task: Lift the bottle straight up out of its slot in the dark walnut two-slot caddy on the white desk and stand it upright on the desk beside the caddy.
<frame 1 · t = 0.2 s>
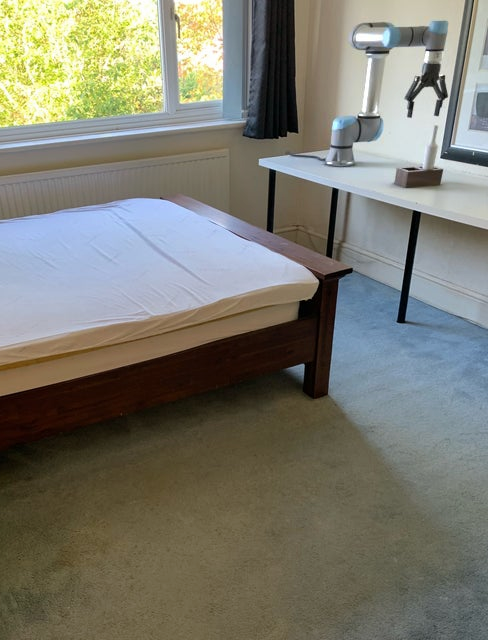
hand: (422, 116, 266), 28 cm above the table, tool pointing down, fingers open, 13 cm apart
bottle: (424, 183, 278), resting in caddy
caddy: (417, 184, 277), on the table
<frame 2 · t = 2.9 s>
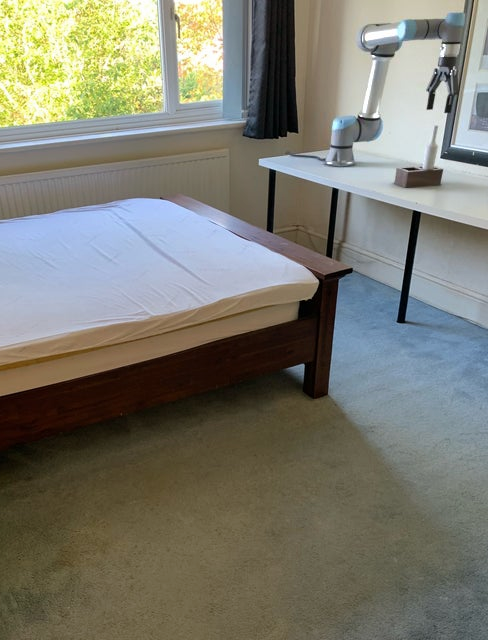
hand: (438, 111, 261), 31 cm above the table, tool pointing down, fingers open, 13 cm apart
nothing on the table moved.
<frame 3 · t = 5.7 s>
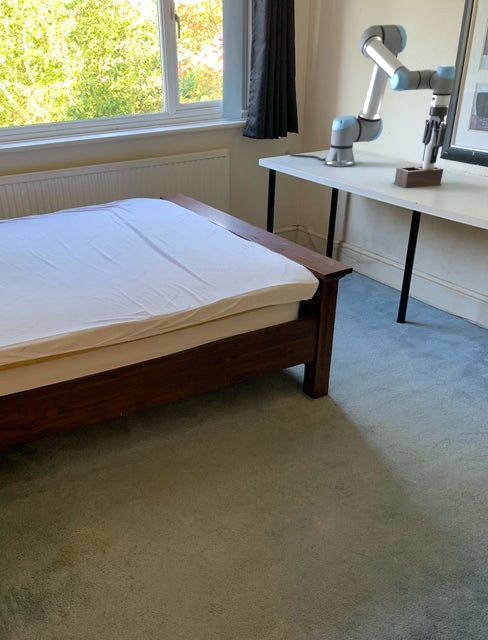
hand: (429, 161, 272), 10 cm above the table, tool pointing down, fingers closed on bottle, 5 cm apart
bottle: (424, 183, 278), resting in caddy, touching gripper
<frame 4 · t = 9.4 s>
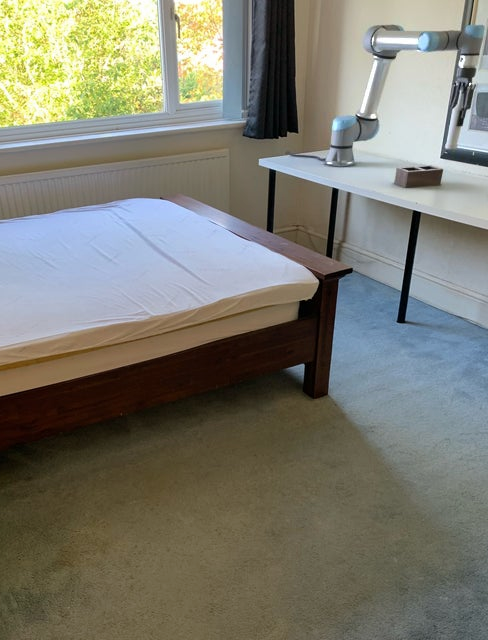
hand: (455, 125, 268), 24 cm above the table, tool pointing down, fingers closed on bottle, 5 cm apart
bottle: (450, 148, 273), point 14 cm above the table, touching gripper
when the fingers open (10 cm above the table, at t = 13.0 s): bottle stays where it is, on the table.
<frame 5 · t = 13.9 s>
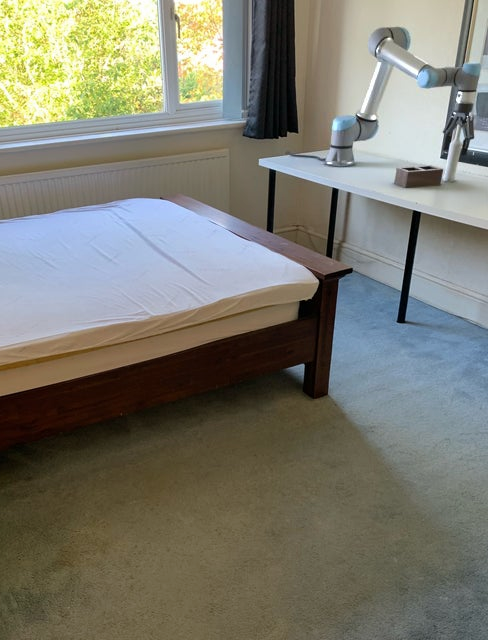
hand: (454, 152, 275), 12 cm above the table, tool pointing down, fingers open, 13 cm apart
bottle: (448, 180, 282), on the table
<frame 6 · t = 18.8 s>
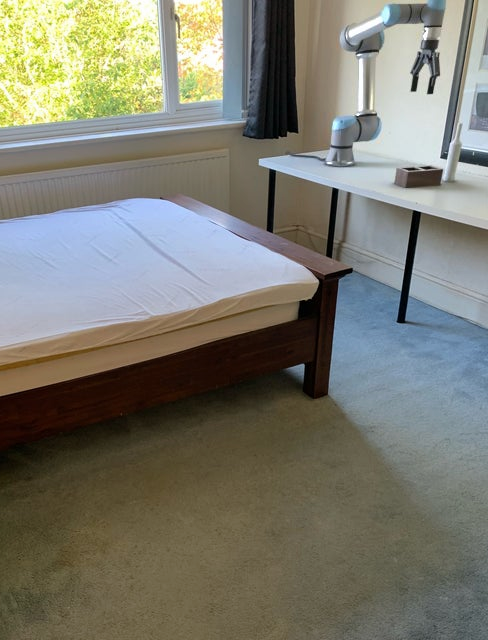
hand: (421, 93, 272), 37 cm above the table, tool pointing down, fingers open, 13 cm apart
nothing on the table moved.
at the end: bottle inside the target area (0.0 cm from its centre), on the table; bottle tilted 0°; the gripper is holding nothing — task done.
